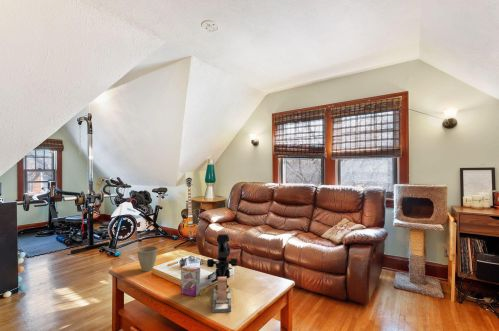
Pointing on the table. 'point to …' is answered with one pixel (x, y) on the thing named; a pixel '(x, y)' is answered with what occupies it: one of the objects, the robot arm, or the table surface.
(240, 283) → the table surface
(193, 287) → the candy bar box
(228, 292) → the track
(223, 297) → the salmon pink rectangular block
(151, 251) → the plant pot
